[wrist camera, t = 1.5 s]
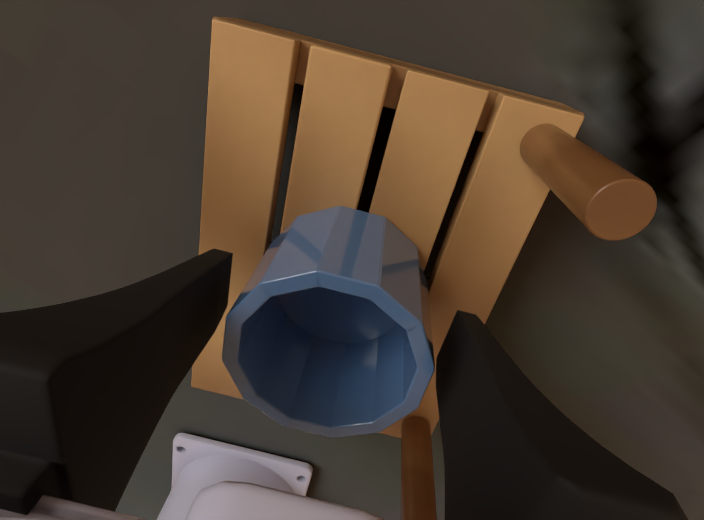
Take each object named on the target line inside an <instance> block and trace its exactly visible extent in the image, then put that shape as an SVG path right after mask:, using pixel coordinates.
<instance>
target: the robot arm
mask: <svg viewBox="0 0 704 520" xmlns="http://www.w3.org/2000/svg"><path fill="white" fill-rule="evenodd" d="M232 258H233V253H230V252H226V251H222V250H218V249H211V250H209V251H207V252H204V253H202V254H200V255H198V256H196V257H194V258H192V259H190V260H188V261H186V262H184V263H181V264H179V265H177V266H175V267H173V268H171V269H168V270H166V271H164V272H162V273H159V274H157V275H154V276H152V277H149V278H147V279H144V280H142V281H139V282H137V283H134V284H132V285H129V286H126V287H123V288H120V289H117V290H113V291H110V292H107V293H103V294H100V295H96V296H92V297H88V298H84V299H79V300H75V301H71V302H67V303H62V304H57V305H52V306H46V307H40V308H34V309H27V310H21V311H13V312H5V313H0V520H147V519H143V518H139V517H135V516H130V515H126V514H122V513H118V512H115V510H116V508H117V505H118V503H119V501H120V499H121V497H122V494H123V492H124V490H125V488H126V486H127V484H128V482H129V480H130V478H131V476H132V474H133V472H134V469H135V467H136V465H137V463H138V461H139V459H140V457H141V455H142V453H143V451H144V449H145V447H146V445H147V443H148V441H149V439H150V437H151V435H152V433H153V431H154V429H155V427H156V425H157V424H158V422H159V420H160V418H161V416H162V414H163V412H164V410H165V408H166V407H167V405H168V403H169V401H170V399H171V397H172V396H173V394H174V392H175V391H176V389H177V388H178V386H179V384H180V383H181V381H182V380H183V379H184V377H185V376H186V374H187V373H188V371H189V370H190V368H191V367H192V365H193V364H194V362H195V361H196V359H197V358H198V356H199V355H200V353H201V352H202V351H203V349H204V348H205V346H206V345H207V343H208V342H209V340H210V339H211V337H212V335H213V334H214V332H215V331H216V329H217V327H218V325H219V323H220V321H221V319H222V317H223V314H224V312H225V310H226V308H227V306H228V297H229V287H230V277H231V267H232ZM436 394H437V403H438V411H439V419H440V427H441V436H442V444H443V452H444V465H445V520H688V519H687V517H686V515H685V514H684V512H683V510H682V508H681V507H680V505H679V503H678V501H677V500H676V498H675V496H674V495H673V493H671V492H669V491H668V490H666V489H665V488H663V487H662V486H660V485H658V484H657V483H655V482H654V481H652V480H651V479H649V478H648V477H646V476H644V475H643V474H641V473H640V472H638V471H637V470H635V469H634V468H632V467H631V466H629V465H628V464H626V463H625V462H623V461H622V460H621V459H619V458H618V457H616V456H615V455H614V454H612V453H611V452H610V451H608V450H607V449H605V448H604V447H603V446H601V445H600V444H599V443H598V442H596V441H595V440H594V439H592V438H591V437H590V436H589V435H587V434H586V433H585V432H584V431H583V430H581V429H580V428H579V427H578V426H577V425H575V424H574V423H573V422H572V421H571V420H569V419H568V418H567V417H566V416H565V415H564V414H563V413H562V412H560V411H559V410H558V409H557V408H556V407H555V406H554V405H553V404H552V403H551V402H550V401H549V400H548V399H547V398H546V397H545V396H544V395H543V394H542V393H541V392H540V391H539V390H538V389H537V388H536V387H535V386H534V385H533V384H532V383H531V381H530V380H529V379H528V378H527V377H526V376H525V375H524V374H523V372H522V371H521V370H520V369H519V368H518V367H517V365H516V364H515V363H514V362H513V361H512V359H511V358H510V357H509V356H508V354H507V353H506V352H505V351H504V349H503V348H502V347H501V346H500V344H499V343H498V342H497V340H496V339H495V338H494V336H493V335H492V334H491V332H490V331H489V330H488V329H487V327H486V326H485V325H484V323H483V322H482V321H481V320H480V318H479V317H478V316H477V315H476V314H472V313H468V312H464V311H460V310H457V312H456V314H455V316H454V319H453V321H452V323H451V326H450V328H449V330H448V332H447V335H446V337H445V339H444V342H443V344H442V346H441V349H440V351H439V353H438V355H437V358H436ZM312 471H313V468H312V466H311V465H310V464H308V463H306V462H302V461H298V460H294V459H289V458H285V457H281V456H277V455H273V454H269V453H265V452H261V451H257V450H253V449H249V448H244V447H240V446H236V445H232V444H228V443H224V442H220V441H216V440H212V439H208V438H204V437H199V436H195V435H191V434H187V433H178V434H177V435H176V436H175V438H174V440H173V460H172V490H171V492H170V494H169V496H168V498H167V500H166V502H165V504H164V506H163V508H162V510H161V512H160V514H159V516H158V518H157V520H384V519H382V518H380V517H377V516H375V515H373V514H370V513H368V512H366V511H363V510H360V509H356V508H352V507H348V506H344V505H340V504H335V503H331V502H327V501H323V500H319V499H315V498H311V497H307V496H306V493H307V489H308V486H309V483H310V479H311V476H312Z"/></svg>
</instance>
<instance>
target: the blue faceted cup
mask: <svg viewBox="0 0 704 520" xmlns="http://www.w3.org/2000/svg"><path fill="white" fill-rule="evenodd" d="M222 361H223V363H224V365H225V367H226V368H227V370H228V372H229V374H230V376H231V377H232V379H233V381H234V383H235V385H236V386H237V388H238V390H239V392H240V393H241V395H242V397H243V398H244V399H245V400H246V401H247V402H249V403H250V404H252V405H253V406H255V407H256V408H257V409H259V410H260V411H262V412H263V413H265V414H266V415H267V416H269V417H270V418H272V419H273V420H275V421H276V422H278V423H279V424H280V425H282V426H284V427H288V428H292V429H296V430H300V431H304V432H308V433H312V434H316V435H320V436H324V437H328V438H338V437H346V436H354V435H363V434H371V433H379V432H381V431H383V430H384V429H386V428H388V427H389V426H391V425H392V424H394V423H396V422H397V421H399V420H400V419H402V418H403V417H405V416H407V415H408V414H410V413H411V412H413V411H415V410H416V409H417V408H418V407H419V405H420V403H421V400H422V398H423V396H424V394H425V391H426V389H427V387H428V384H429V382H430V380H431V378H432V375H433V373H434V371H435V360H434V350H433V339H432V329H431V318H430V308H429V297H428V287H427V281H426V277H425V273H424V269H423V266H422V262H421V258H420V254H419V250H418V248H417V246H416V245H415V244H414V243H413V242H412V241H411V240H410V239H409V238H407V237H406V236H405V235H404V234H403V233H402V232H401V231H400V230H399V229H398V228H397V227H396V226H395V225H394V224H392V223H391V222H390V221H389V220H388V219H387V218H386V217H384V216H380V215H376V214H372V213H368V212H364V211H360V210H356V209H352V208H348V207H344V206H336V207H332V208H328V209H324V210H320V211H316V212H312V213H309V214H305V215H301V216H298V217H296V218H295V219H294V220H293V221H292V222H291V223H290V224H289V225H288V227H287V228H286V229H285V230H284V231H283V232H282V233H281V234H280V235H279V236H278V237H277V238H276V239H275V240H274V241H273V242H272V243H271V244H270V246H269V248H268V249H267V251H266V252H265V254H264V256H263V257H262V259H261V261H260V262H259V264H258V265H257V267H256V269H255V270H254V272H253V274H252V275H251V277H250V278H249V280H248V282H247V283H246V285H245V287H244V288H243V290H242V291H241V293H240V295H239V296H238V298H237V300H236V301H235V303H234V304H233V306H232V308H231V309H230V311H229V313H228V314H227V316H226V321H225V331H224V340H223V350H222Z"/></svg>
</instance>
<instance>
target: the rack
mask: <svg viewBox="0 0 704 520" xmlns="http://www.w3.org/2000/svg"><path fill="white" fill-rule="evenodd" d="M294 84H299V85H302V86H304V88H303V95H302V101H301V107H300V113H299V119H298V126H297V132H296V138H295V144H294V150H293V157H292V163H291V169H290V175H289V181H288V188H287V194H286V200H285V206H284V212H283V219H282V225H281V231H280V234H281V233H282V232H283V231H284V230H285V229H286V228H287V227H288V225H289V224H290V223H291V222H292V221H293V220H294V219H295V218H296V217H298V216H301V215H305V214H309V213H312V212H316V211H320V210H324V209H328V208H332V207H336V206H344V207H348V208H352V209H356V210H357V207H358V203H359V199H360V195H361V191H362V187H363V183H364V179H365V175H366V171H367V167H368V163H369V160H370V156H371V152H372V148H373V144H374V140H375V136H376V132H377V128H378V124H379V120H380V116H381V112H382V108H383V107H387V108H391V109H395V110H396V111H395V115H394V119H393V123H392V126H391V130H390V134H389V138H388V141H387V145H386V149H385V152H384V156H383V160H382V164H381V167H380V171H379V175H378V179H377V182H376V186H375V190H374V193H373V197H372V201H371V205H370V208H369V212H368V213H372V214H376V215H380V216H384V217H386V218H387V219H388V220H389V221H390V222H391V223H392V224H394V225H395V226H396V227H397V228H398V229H399V230H400V231H401V232H402V233H403V234H404V235H405V236H406V237H407V238H409V239H410V240H411V241H412V242H413V243H414V244H415V245H416V246H417V248H418V250H419V254H420V258H421V262H422V266H423V269H424V270H425V267H426V264H427V261H428V259H429V256H430V253H431V250H432V248H433V245H434V242H435V240H436V237H437V234H438V231H439V229H440V226H441V223H442V220H443V218H444V215H445V212H446V209H447V207H448V204H449V201H450V198H451V196H452V193H453V190H454V188H455V185H456V182H457V179H458V177H459V174H460V171H461V168H462V166H463V163H464V160H465V157H466V155H467V152H468V149H469V146H470V144H471V141H472V138H473V136H474V133H475V130H476V131H479V132H483V135H482V138H481V141H480V143H479V146H478V149H477V151H476V154H475V157H474V159H473V162H472V165H471V167H470V170H469V173H468V175H467V178H466V181H465V183H464V186H463V189H462V191H461V194H460V197H459V199H458V202H457V205H456V207H455V210H454V213H453V215H452V218H451V221H450V223H449V226H448V229H447V231H446V234H445V237H444V239H443V242H442V245H441V247H440V250H439V252H438V255H437V258H436V260H435V263H434V266H433V268H432V271H431V274H430V276H429V279H428V282H427V287H428V297H429V308H430V318H431V329H432V339H433V350H434V360H435V371H434V373H433V375H432V378H431V380H430V382H429V384H428V387H427V389H426V391H425V394H424V396H423V398H422V400H421V403H420V405H419V407H418V408H417V409H416V410H415V411H413V412H411V413H410V414H408V415H407V416H405V417H403V418H402V419H400V420H399V421H397V422H396V423H394V424H392V425H391V426H389V427H388V428H386V429H384V430H383V431H381V432H379V433H382V434H386V435H390V436H394V437H398V438H401V520H437V514H436V500H435V485H434V471H433V456H432V442H431V434H432V432H433V430H434V428H435V426H436V424H437V422H438V420H439V411H438V403H437V394H436V358H437V355H438V353H439V351H440V349H441V346H442V344H443V342H444V339H445V337H446V335H447V332H448V330H449V328H450V326H451V323H452V321H453V319H454V316H455V314H456V312H457V310H460V311H464V312H468V313H472V314H476V315H477V316H478V317H479V318H480V320H481V321H482V322H483V323H484V325H485V323H486V321H487V319H488V317H489V314H490V312H491V310H492V308H493V306H494V304H495V302H496V300H497V298H498V296H499V294H500V292H501V290H502V288H503V286H504V283H505V281H506V279H507V277H508V275H509V273H510V271H511V269H512V267H513V265H514V263H515V261H516V259H517V257H518V255H519V252H520V250H521V248H522V246H523V244H524V242H525V240H526V238H527V236H528V234H529V232H530V230H531V228H532V226H533V223H534V221H535V219H536V217H537V215H538V213H539V211H540V209H541V207H542V205H543V203H544V201H545V199H546V197H547V195H548V192H549V190H550V189H551V190H552V191H553V193H554V194H555V195H556V196H557V197H558V198H559V199H560V200H561V201H562V202H563V203H564V204H565V206H566V207H567V208H568V209H569V210H570V211H571V212H572V213H573V214H574V215H575V216H576V217H577V219H578V220H579V221H580V222H581V223H582V224H583V225H584V226H585V227H586V228H587V229H588V230H589V232H590V233H592V234H593V235H594V236H596V237H598V238H600V239H603V240H611V241H615V240H622V239H626V238H629V237H631V236H633V235H635V234H637V233H639V232H640V231H641V230H643V229H644V228H645V227H646V226H647V225H648V224H649V223H650V221H651V220H652V218H653V216H654V214H655V212H656V208H657V198H656V194H655V192H654V190H653V189H652V187H651V186H650V185H649V184H647V183H646V182H644V181H643V180H641V179H640V178H638V177H636V176H635V175H633V174H632V173H630V172H628V171H627V170H625V169H624V168H622V167H621V166H619V165H617V164H616V163H614V162H613V161H611V160H609V159H608V158H606V157H605V156H603V155H602V154H600V153H598V152H597V151H595V150H594V149H592V148H590V147H589V146H587V145H586V144H584V143H583V142H581V141H579V140H578V139H576V138H575V137H576V135H577V132H578V130H579V128H580V126H581V124H582V122H583V120H584V114H583V113H582V112H579V111H577V110H575V109H573V108H571V107H569V106H567V105H564V104H562V103H560V102H557V101H553V100H549V99H545V98H541V97H537V96H534V95H530V94H526V93H522V92H518V91H515V90H511V89H507V88H503V87H499V86H496V85H492V84H488V83H484V82H480V81H476V80H473V79H469V78H465V77H461V76H457V75H454V74H450V73H446V72H442V71H438V70H434V69H431V68H427V67H423V66H419V65H415V64H412V63H408V62H404V61H400V60H396V59H392V58H389V57H385V56H381V55H377V54H373V53H370V52H366V51H362V50H358V49H354V48H350V47H347V46H343V45H339V44H335V43H331V42H328V41H324V40H320V39H316V38H312V37H309V36H305V35H301V34H297V33H293V32H289V31H286V30H282V29H278V28H274V27H270V26H267V25H263V24H259V23H255V22H251V21H247V20H244V19H240V18H225V17H213V20H212V33H211V51H210V68H209V86H208V103H207V121H206V138H205V155H204V173H203V190H202V208H201V225H200V243H199V255H200V254H202V253H204V252H207V251H209V250H211V249H218V250H222V251H226V252H230V253H233V258H232V267H231V277H230V287H229V297H228V306H227V308H226V310H225V312H224V314H223V317H222V319H221V321H220V323H219V325H218V327H217V329H216V331H215V332H214V334H213V335H212V337H211V339H210V340H209V342H208V343H207V345H206V346H205V348H204V349H203V351H202V352H201V353H200V355H199V356H198V358H197V359H196V361H195V362H194V364H193V365H192V382H191V386H192V387H195V388H199V389H203V390H207V391H211V392H215V393H219V394H223V395H227V396H231V397H235V398H240V399H244V398H243V397H242V395H241V393H240V392H239V390H238V388H237V386H236V385H235V383H234V381H233V379H232V377H231V376H230V374H229V372H228V370H227V368H226V367H225V365H224V363H223V361H222V350H223V340H224V331H225V321H226V316H227V314H228V313H229V311H230V309H231V308H232V306H233V304H234V303H235V301H236V300H237V298H238V296H239V295H240V293H241V291H242V290H243V288H244V287H245V285H246V283H247V282H248V280H249V278H250V277H251V275H252V274H253V272H254V270H255V269H256V267H257V265H258V264H259V262H260V261H261V259H262V257H263V256H264V254H265V252H266V251H267V249H268V248H269V246H270V244H271V237H272V230H273V224H274V217H275V210H276V204H277V197H278V190H279V184H280V177H281V171H282V164H283V157H284V151H285V144H286V137H287V131H288V124H289V117H290V111H291V104H292V98H293V91H294Z"/></svg>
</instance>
